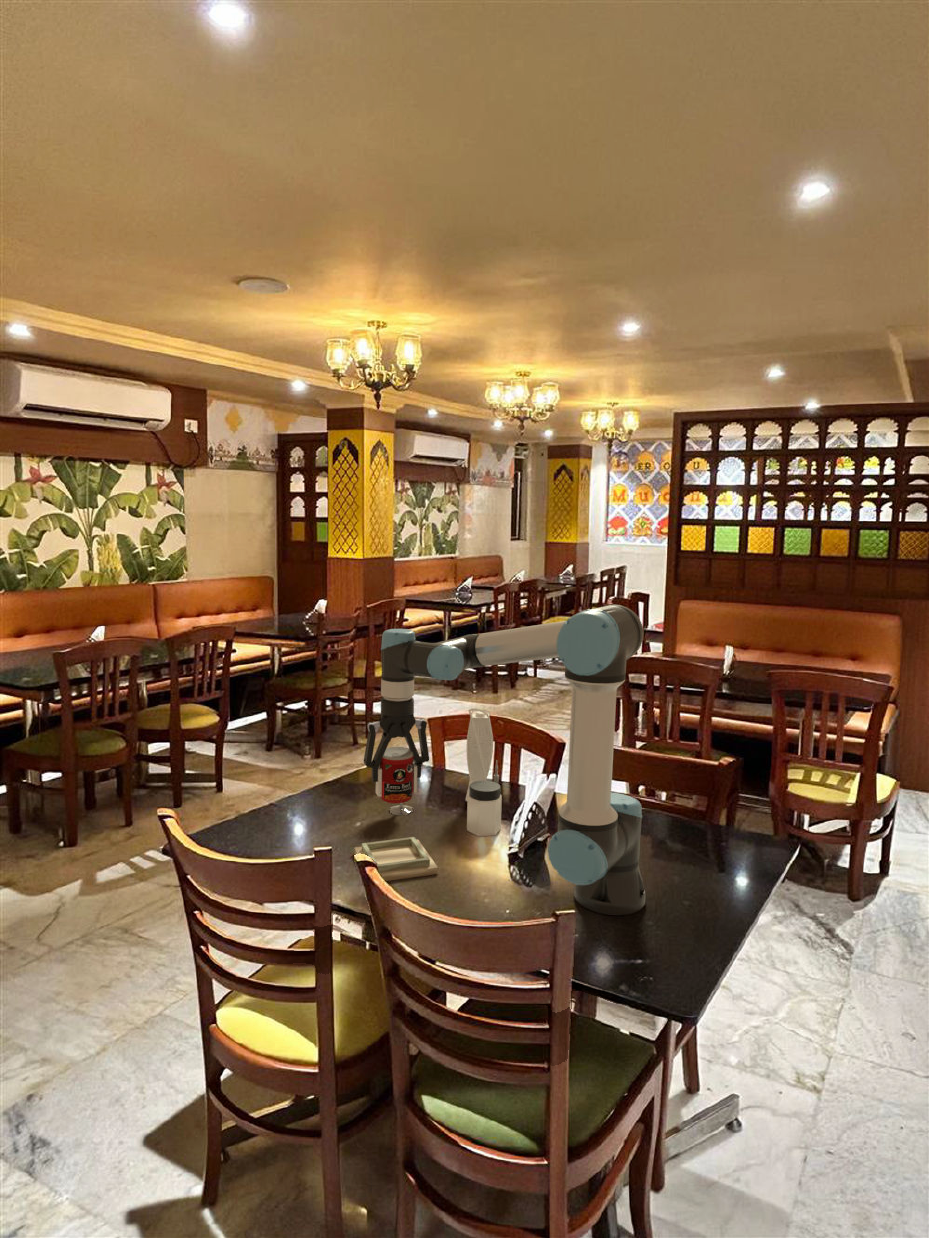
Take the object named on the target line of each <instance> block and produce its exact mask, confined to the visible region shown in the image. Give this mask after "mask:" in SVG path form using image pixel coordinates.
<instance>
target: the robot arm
mask: <svg viewBox="0 0 929 1238" xmlns="http://www.w3.org/2000/svg"><path fill="white" fill-rule="evenodd" d="M644 635H645V634H644V626H643V623H642V621H641V619H640V616H638V615H637V614H636V612H635V611H633V610H632V609H630V608H629V607H626V606H624V605H620V604H607V605H604V606H600V607H597V608H591V609H590V608H588V609H584V610H582V611H579V612H576V614H573V615H572V616H570V617H569V618H568V619H567V620H564V621H563V620H562V621H557V622H550V623H548V622H547V623H542V624H537V625H530V626H522V627H517V628H510V629H502V630H496V631H489V632H484V633H479V634H477V633H475V634H474V633H471V634H465V635H463V636H460V637H456V638H452V639H447V640H443V641H442V640H441V641H438V642H425V641H420V640H419V641H418V640H416V632H414V630H411V629H408V628H390V629H387V630H384V631H383V632H382V635H381V646H380V655H381V660H380V661H381V675H380V676H381V677H380V678H381V685H380V695H381V696H382V697H381V698H380V717H379V719H378V721H375V722H372V721H368V722H367V723H366V726H367V727H366V728H367V739H366V744H365V751H364V756H363V764H364V766H366V768H371V781H373V783H375V794H376V795H377V797H379V798H381V797H382V769H381V768H380V763H381V760H382V758H383V755H384V753H385V751H386V748H388V746H389V744H390V742H391V740H392V739H396V738H404V739H405V742H406V744H407V747H408V749H410V751H411V752H413V759H414V761H415V763H414V762H413V794H418V779H419V778H421V776H422V766H423V764H424V763H425V762H426V763H428V762H430V754H429V753H430V752H429V747H428V739H427V732H426V730H427V725H428V722H427V721H426V720H425V719H424V718H416V717H415V699H414V695H415V676H420V677H425V678H430V679H431V678H432V679H436V680H439V681H442V680H445V681H453V680H456V679H458V676H459V675H461V673H462V672H463V671H465V670H468V669H474V668H481V667H482V668H483V667H488V666H495V665H503V664H511V663H512V664H513V663H520V662H528V661H537V660H545V659H546V660H548V659H554V658H559V660H560V661H561V662H562V664H563V666H564V678H565V680H566V681H567V682H568V683H569V685H570V686H571V700H570V701H571V703H570V704H571V705H570V708H571V709H570V726H569V728H570V731H569V743H568V744H569V749H568V767H567V768H568V769H567V787H566V788H567V791H566V794H567V795H566V802H565V803H564V804H562V805H561V806H560V807H559V809H558V818H557V822H558V823H557V832H555V833H554V834H553V835H552V836H551V838H550V840H549V843H548V846H547V853H548V859H549V862H550V864H551V866H552V868H553V869H554V870H556V872H557V873H558V875H559V876H560V877H561V878H562V879H564V880H565V881H566V882H569V883H571V884H573V885H574V893H573V894H574V895H573V896H574V899H575V900H576V902H577V903H578V904H579V905H580V906H582V907H583V908H585V909H588V910H590V911H592V912H595V913H598V914H602V915H608V916H624V915H625V916H626V915H632V914H634V913H637V912H639V911H641V910H642V909H643V908H644V907H645V905H646V890H645V886H644V882H643V877H642V875H641V871H640V866H639V865H640V852H641V851H640V847H641V833H642V832H641V831H642V821H643V820H642V819H643V815H642V814H643V813H642V811H643V810H642V804H641V803H640V801H639V800H638V799H637V798H635V797H633V796H630V795H627V794H623V793H618V792H612V783H613V782H612V780H613V766H614V765H613V764H614V763H613V762H614V748H615V747H614V744H615V728H616V726H615V725H616V708H617V706H616V705H617V690H618V688H619V687H620V686H621V685H623V684H624V682H626V673H627V672H626V671H627V661H628V660H629V659H630V658H632V657H633V656H634V655H636V653H638V651H639V650H640V648H641V646H642V644H643V641H644ZM413 727H416V728H417V733H418V741H419V749H420V753H419V752H418V750H417V747H416V746H417V745H416V744H415V742H414V740H413V736H412V734H411V730H412V729H413ZM379 728H381V729H382V730H383V732H382V735H381V738H380V741H379V743H378V746H377V749H376V750H375V753H374V748H375V742H376V733H378V731H379Z"/></svg>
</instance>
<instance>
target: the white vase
mask: <svg viewBox="0 0 929 1238" xmlns="http://www.w3.org/2000/svg"><path fill="white" fill-rule="evenodd" d="M468 713H469V716H470V719H469V723H468V730H467V736H466V763H467V771H468V775H469V782H468V788H467V792H466V796H465V802H467V803H468V796H469V786H470V784H471V783H473V782H476V781H488V776H489V773H490V769H491V765H492V759H493V754H494V753H493V752H494V735H493V728H492V724H491V718H490V715H491V712H490V711H489V710H484V709H479V708H470V709H468ZM494 769H495V770H494V774H493V782H495V783H498V784H499V779H500V775H499V774H498V772H499V771H498V770H499V766H498V760H497V759H496V760H495V766H494Z"/></svg>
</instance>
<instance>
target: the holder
mask: <svg viewBox="0 0 929 1238" xmlns="http://www.w3.org/2000/svg"><path fill="white" fill-rule="evenodd" d="M353 852H354V853H353V854H354V855H355V853H356V854H359V853H361V854H365V855H367V856H369V857H371V858H372V859H373V860H374V861H375V862H376V863H377V866H378V871H379V873H380V874H381V875H382V877H383V878H384V879H385V880H386V881H385V882H389V881H395V880H403V879H410V878H415V877H416V878H417V877H418V878H419V877H423V876H432V875H438V874H439V866H438V865H437V864H436V863H435V861H434V859H433V858H432V857H431V856H430V854H429V852H428V851H427V849H425V847H424V845H423V844H422V843H421V841H420V840H419V839H416V837H415V836H409V837H402V838H395V839H387V840H378V841H371V842H370V841H369V842H363V843H361V846H355V847H354V850H353Z"/></svg>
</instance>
